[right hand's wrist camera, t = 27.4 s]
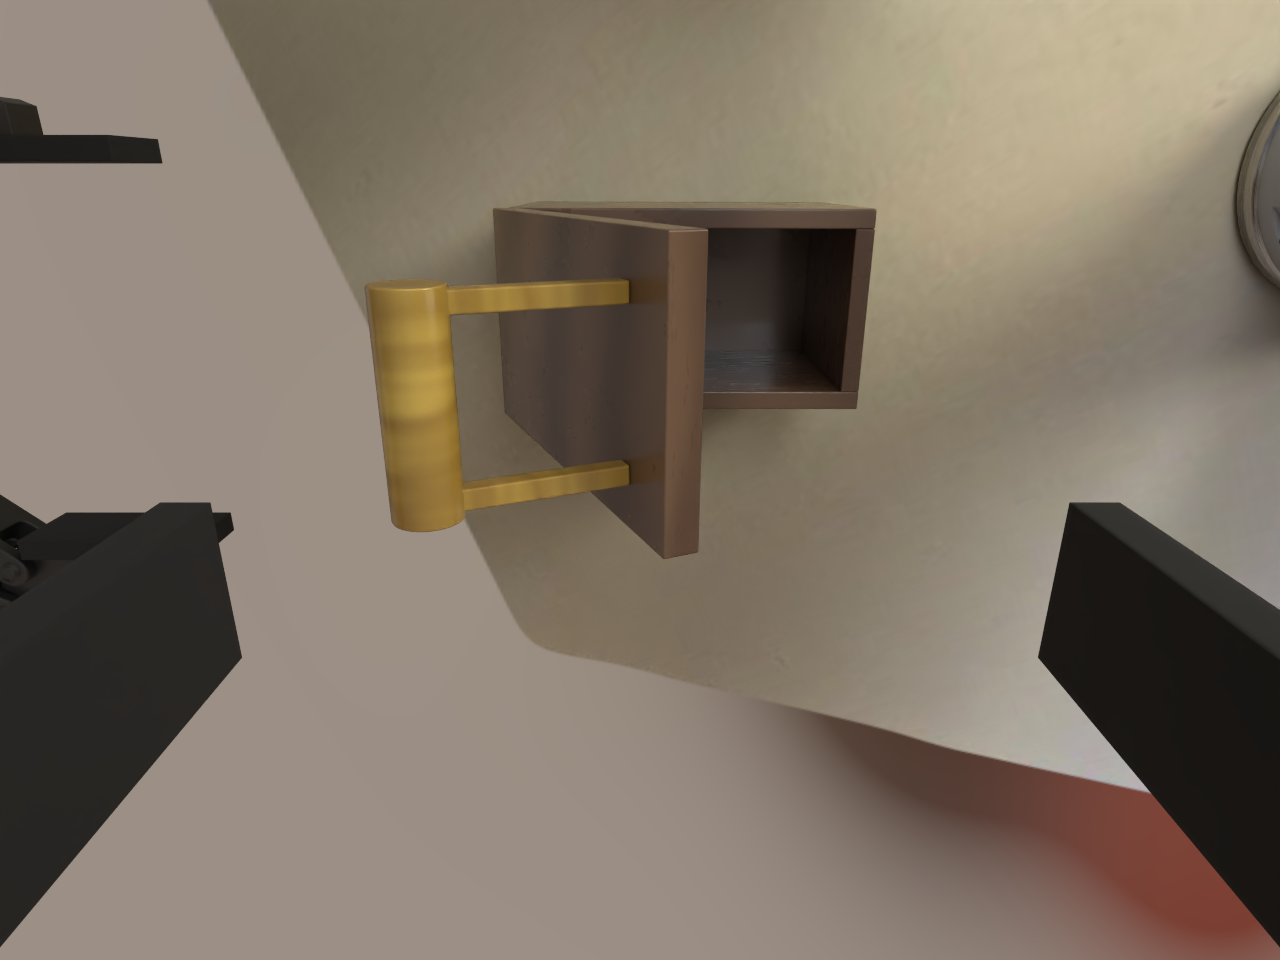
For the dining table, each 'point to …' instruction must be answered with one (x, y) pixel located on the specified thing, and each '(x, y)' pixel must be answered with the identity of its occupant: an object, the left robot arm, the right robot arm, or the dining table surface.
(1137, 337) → the dining table surface
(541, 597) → the dining table surface
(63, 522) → the left robot arm
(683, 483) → the lid
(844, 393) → the chest
